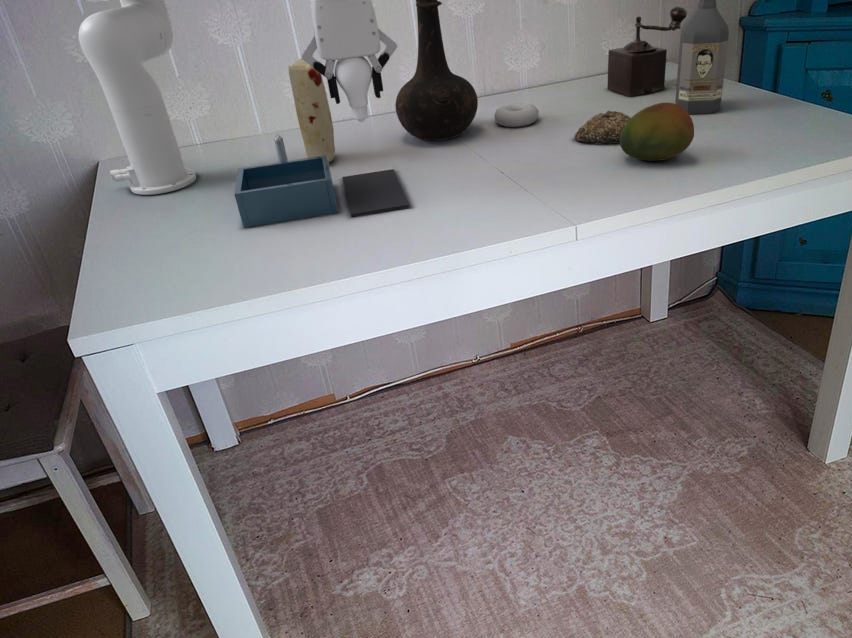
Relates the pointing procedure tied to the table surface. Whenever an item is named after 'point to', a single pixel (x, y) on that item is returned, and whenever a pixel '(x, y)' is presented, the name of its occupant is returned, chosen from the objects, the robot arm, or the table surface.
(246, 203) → the sink
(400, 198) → the mat
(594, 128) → the bread roll
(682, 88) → the liquor
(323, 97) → the food model
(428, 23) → the dark brown vase
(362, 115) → the lightbulb
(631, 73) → the manual coffee grinder
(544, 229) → the table surface
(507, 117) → the donut
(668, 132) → the fruit
